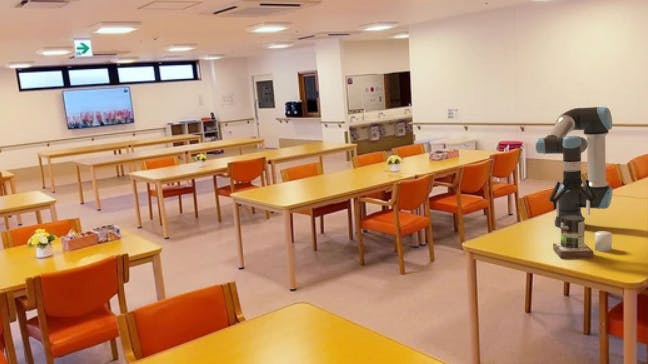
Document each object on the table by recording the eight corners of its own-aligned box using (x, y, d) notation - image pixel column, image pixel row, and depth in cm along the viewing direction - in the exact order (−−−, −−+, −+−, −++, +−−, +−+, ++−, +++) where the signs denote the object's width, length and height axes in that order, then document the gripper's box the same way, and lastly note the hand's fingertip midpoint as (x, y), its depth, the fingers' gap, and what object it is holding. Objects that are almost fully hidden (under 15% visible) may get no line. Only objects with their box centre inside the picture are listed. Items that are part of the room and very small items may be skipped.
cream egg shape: (593, 247, 263) (593, 231, 262) (608, 247, 262) (608, 230, 260) (597, 252, 256) (597, 235, 255) (613, 251, 255) (614, 234, 254)
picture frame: (553, 249, 265) (553, 243, 264) (583, 248, 262) (583, 242, 262) (560, 258, 251) (560, 251, 250) (593, 257, 249) (593, 250, 248)
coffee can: (567, 251, 251) (567, 221, 248) (556, 244, 261) (556, 216, 259) (589, 248, 251) (589, 218, 249) (577, 242, 261) (577, 214, 259)
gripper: (545, 173, 249) (546, 218, 252) (604, 169, 244) (604, 215, 248) (541, 170, 256) (542, 214, 260) (598, 166, 252) (598, 211, 255)
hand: (572, 215), depth 254 cm, fingers open, 13 cm apart
